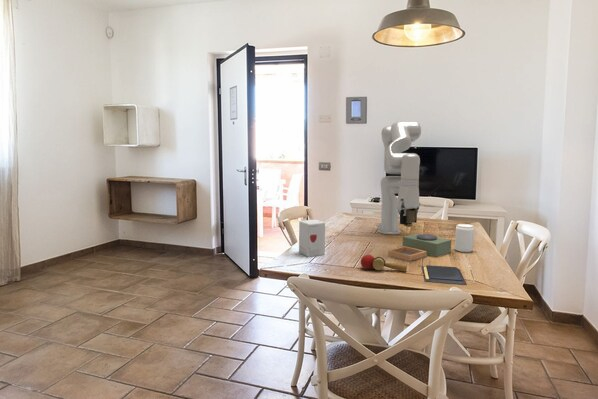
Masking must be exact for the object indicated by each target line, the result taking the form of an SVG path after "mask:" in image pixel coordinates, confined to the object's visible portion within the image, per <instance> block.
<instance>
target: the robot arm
mask: <svg viewBox="0 0 598 399" xmlns="http://www.w3.org/2000/svg"><path fill="white" fill-rule="evenodd" d="M380 133H381V134H380V135H381V140H382V144H383V147H384V158H383V159H384V160H383V161H384V162H383V169H384V170H383V171H384V172H385V174H389V175H388V176H384V177H382V178H381V180H380V190H381V191H380V193H381V215H380V219H381V220H380V222H377V224H376V225H375V226H376V228H377V227H378V230H377V232H378V233H379V234H383V235H400V234H401V233H402V229H399V224H400V225H403V226H404V225H406V224H407V216H406V213H407V210H408V209H410V210H412V209H414V210H416V209H418V211H417V214H418V213H419V210H420V207H421V202H420V188H419V185H420V184H419V183H420V181H419V180H420V165H421V158H420V155H418V154H417V153H414V152H412V153H411V152H410V153H409V152H405V151H407V150H409V149H410V148H411V146H412V143H414V142H416V141H417V140H418V139H419V138H420V137H421V134H422V127H421V125H420V123H419V122H418V121H405V120H404V121H402V120H401V121H396V122H394V123H392V124H391V125H387V126H384V127H383V128H381V132H380ZM396 194H398V195H397V196H396ZM403 210H404V212H403ZM417 220H418V215H417V216H416V220H415V222H413V223H417V222H418V221H417Z"/></svg>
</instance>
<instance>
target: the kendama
mask: <svg viewBox="0 0 598 399" xmlns="http://www.w3.org/2000/svg"><path fill="white" fill-rule="evenodd" d="M360 266H361V267H362V268H363V269H364V270H373V269H375V270H376V271H381V270H383V269H384V267H385V268H389V269H391V270H392V269H393V270H396V271H400V272H403V273H407V270H408V264H402V263H395V262H386V259H385V258H384V257H383V256H381V255H380V256H375V257H374V256H373V255H371V254H365V255H363V256H362V257H361V259H360Z"/></svg>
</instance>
